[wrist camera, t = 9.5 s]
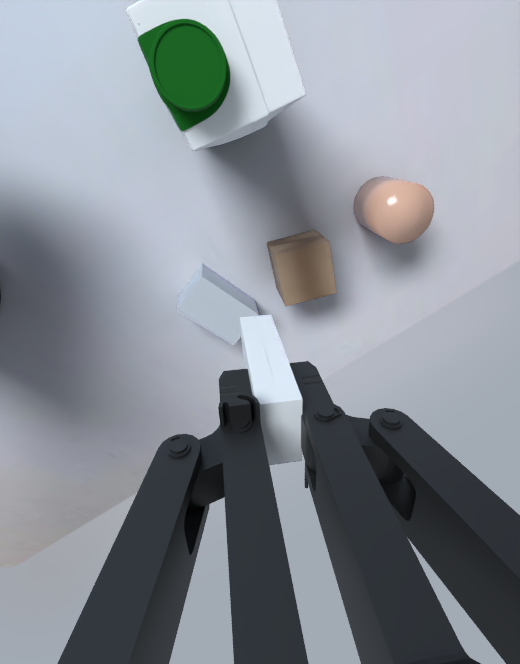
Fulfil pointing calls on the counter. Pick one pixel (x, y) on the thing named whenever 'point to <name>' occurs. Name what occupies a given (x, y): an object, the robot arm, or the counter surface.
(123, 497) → the counter surface
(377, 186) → the peach domed cylinder
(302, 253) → the walnut cube
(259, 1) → the milk carton
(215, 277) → the grey brick
